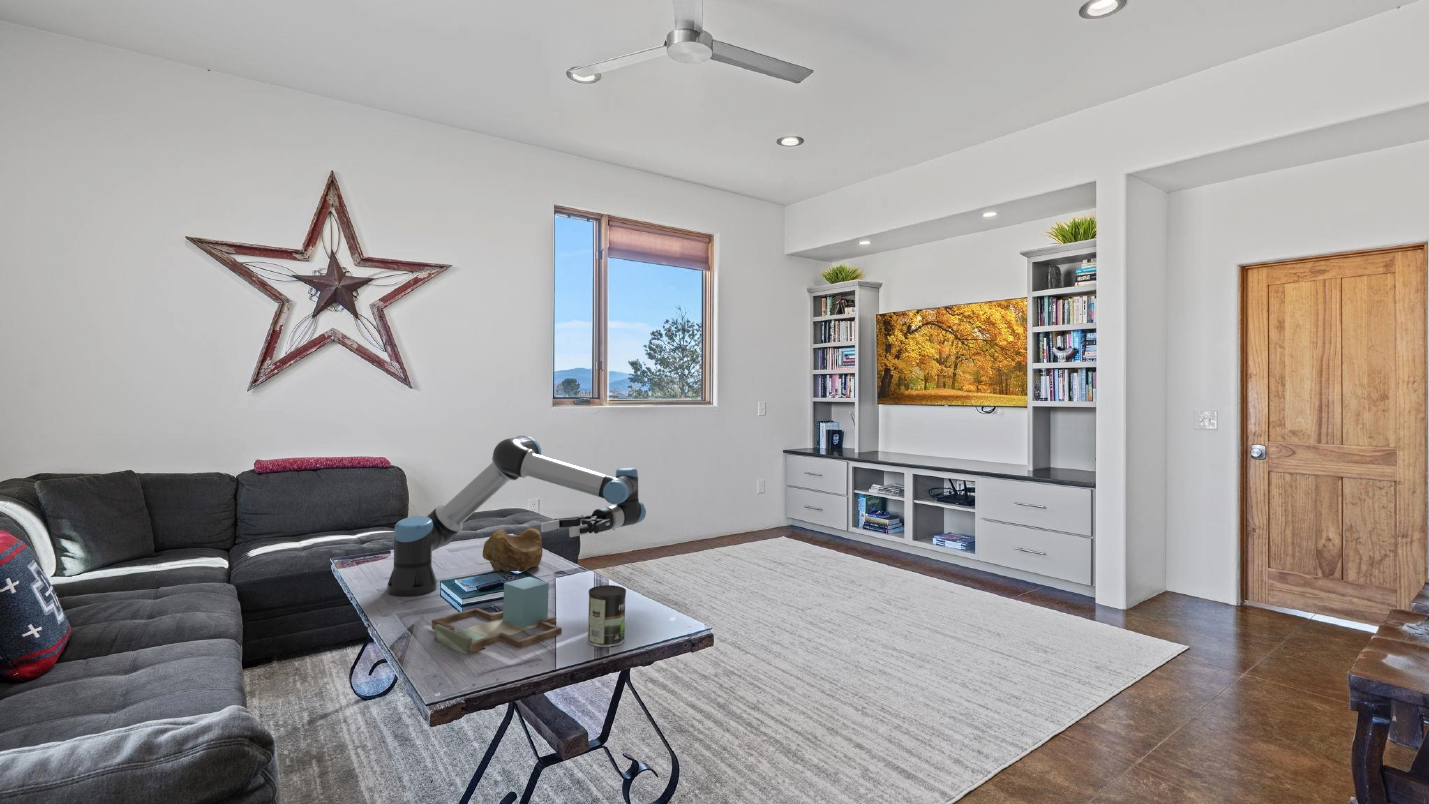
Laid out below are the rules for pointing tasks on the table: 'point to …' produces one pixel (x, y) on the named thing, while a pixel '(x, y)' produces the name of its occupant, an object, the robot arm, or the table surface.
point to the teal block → (525, 601)
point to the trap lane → (488, 631)
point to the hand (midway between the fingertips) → (555, 530)
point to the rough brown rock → (513, 550)
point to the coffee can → (606, 615)
